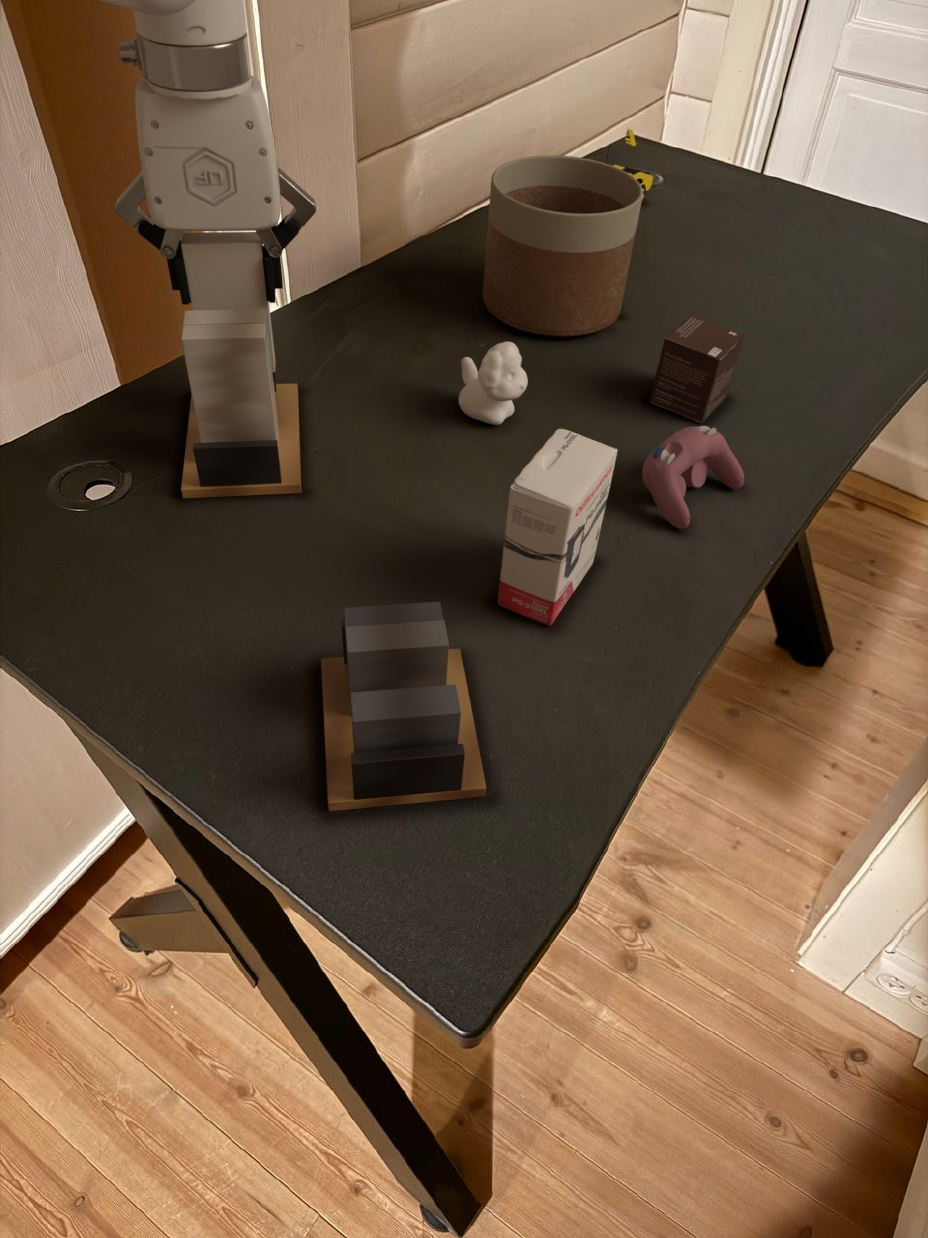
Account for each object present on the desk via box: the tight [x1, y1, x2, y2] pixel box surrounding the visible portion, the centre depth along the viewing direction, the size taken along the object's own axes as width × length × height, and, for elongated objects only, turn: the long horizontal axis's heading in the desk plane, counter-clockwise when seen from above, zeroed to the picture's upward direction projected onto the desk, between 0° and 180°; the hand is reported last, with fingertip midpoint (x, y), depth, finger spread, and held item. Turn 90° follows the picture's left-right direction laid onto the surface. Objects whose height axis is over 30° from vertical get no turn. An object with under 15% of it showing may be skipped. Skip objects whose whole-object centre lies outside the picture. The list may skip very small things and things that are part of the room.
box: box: [649, 314, 746, 424], centre depth 89 cm, size 6×6×7 cm
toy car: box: [605, 128, 654, 204], centre depth 123 cm, size 12×8×8 cm, turn 145°
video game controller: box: [641, 425, 745, 530], centre depth 79 cm, size 10×5×7 cm, turn 135°
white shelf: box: [180, 309, 303, 499], centre depth 78 cm, size 10×16×13 cm, turn 8°
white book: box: [181, 231, 276, 373], centre depth 79 cm, size 6×2×12 cm, turn 98°
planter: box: [482, 154, 643, 338], centre depth 99 cm, size 16×16×14 cm
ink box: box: [497, 428, 618, 627], centre depth 68 cm, size 8×5×12 cm, turn 151°
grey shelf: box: [320, 601, 487, 812], centre depth 59 cm, size 10×12×8 cm
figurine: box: [457, 341, 529, 426], centre depth 85 cm, size 5×8×8 cm
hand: (229, 294), depth 78 cm, fingers closed on white book, 6 cm apart
